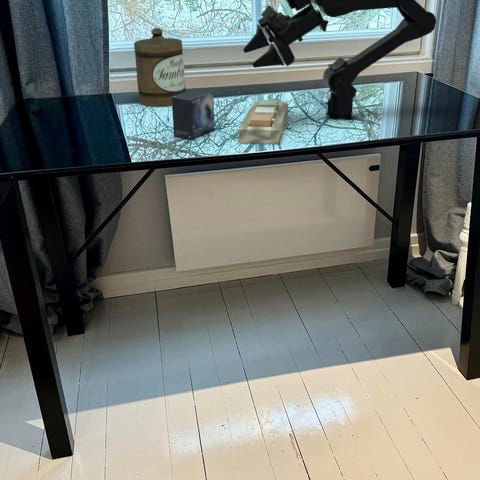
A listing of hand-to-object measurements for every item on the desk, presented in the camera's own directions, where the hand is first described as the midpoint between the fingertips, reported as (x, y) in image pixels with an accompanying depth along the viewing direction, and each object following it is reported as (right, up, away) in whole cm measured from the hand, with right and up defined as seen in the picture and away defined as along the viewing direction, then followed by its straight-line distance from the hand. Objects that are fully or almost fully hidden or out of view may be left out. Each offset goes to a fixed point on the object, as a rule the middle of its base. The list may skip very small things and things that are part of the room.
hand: (248, 58), depth 149 cm
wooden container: (-27, -4, +30) cm, 41 cm away
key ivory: (+4, -16, +1) cm, 17 cm away
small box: (-14, -20, 0) cm, 25 cm away
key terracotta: (+3, -19, -6) cm, 20 cm away
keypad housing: (+4, -18, +2) cm, 19 cm away
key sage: (+6, -12, +7) cm, 15 cm away
